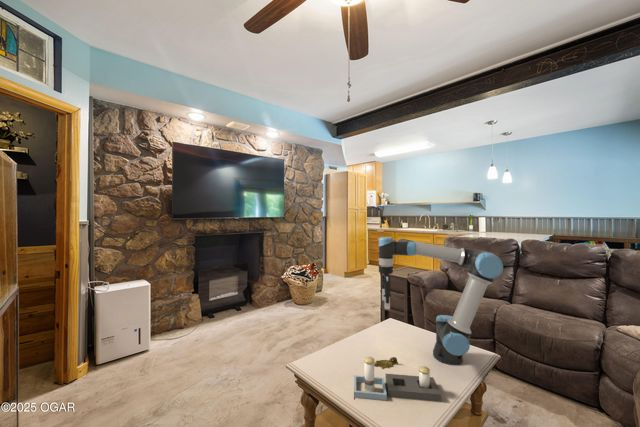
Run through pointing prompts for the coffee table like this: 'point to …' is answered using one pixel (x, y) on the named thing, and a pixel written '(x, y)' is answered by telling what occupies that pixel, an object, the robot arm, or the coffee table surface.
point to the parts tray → (370, 394)
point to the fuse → (424, 377)
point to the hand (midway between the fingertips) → (385, 304)
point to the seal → (386, 363)
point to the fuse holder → (411, 388)
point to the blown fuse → (369, 374)
